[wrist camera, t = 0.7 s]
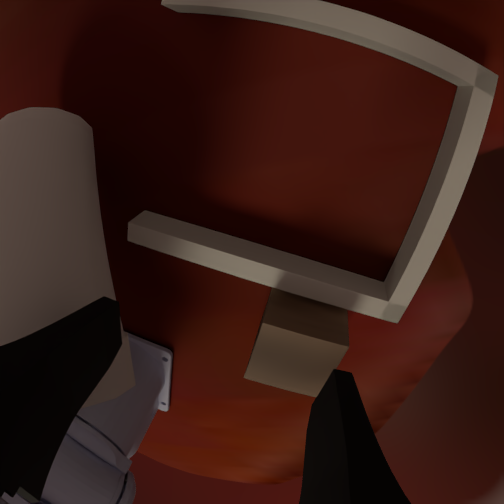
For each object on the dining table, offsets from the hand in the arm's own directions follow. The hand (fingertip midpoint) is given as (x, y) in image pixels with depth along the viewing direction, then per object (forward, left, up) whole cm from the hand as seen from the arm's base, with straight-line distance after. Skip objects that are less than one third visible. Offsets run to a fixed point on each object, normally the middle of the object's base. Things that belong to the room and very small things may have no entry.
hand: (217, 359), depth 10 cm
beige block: (-5, -3, -10) cm, 11 cm away
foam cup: (+4, +13, -6) cm, 15 cm away
